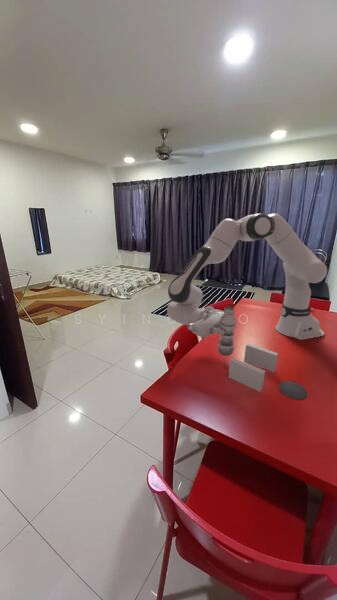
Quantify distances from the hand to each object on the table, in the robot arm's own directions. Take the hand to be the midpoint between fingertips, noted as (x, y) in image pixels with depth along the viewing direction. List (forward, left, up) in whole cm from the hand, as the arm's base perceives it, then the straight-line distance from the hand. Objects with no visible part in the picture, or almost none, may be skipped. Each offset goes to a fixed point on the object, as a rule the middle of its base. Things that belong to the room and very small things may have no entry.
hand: (229, 328), depth 94 cm
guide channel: (-8, +8, -15) cm, 19 cm away
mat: (-18, +18, -15) cm, 30 cm away
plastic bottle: (+1, -1, -12) cm, 12 cm away
